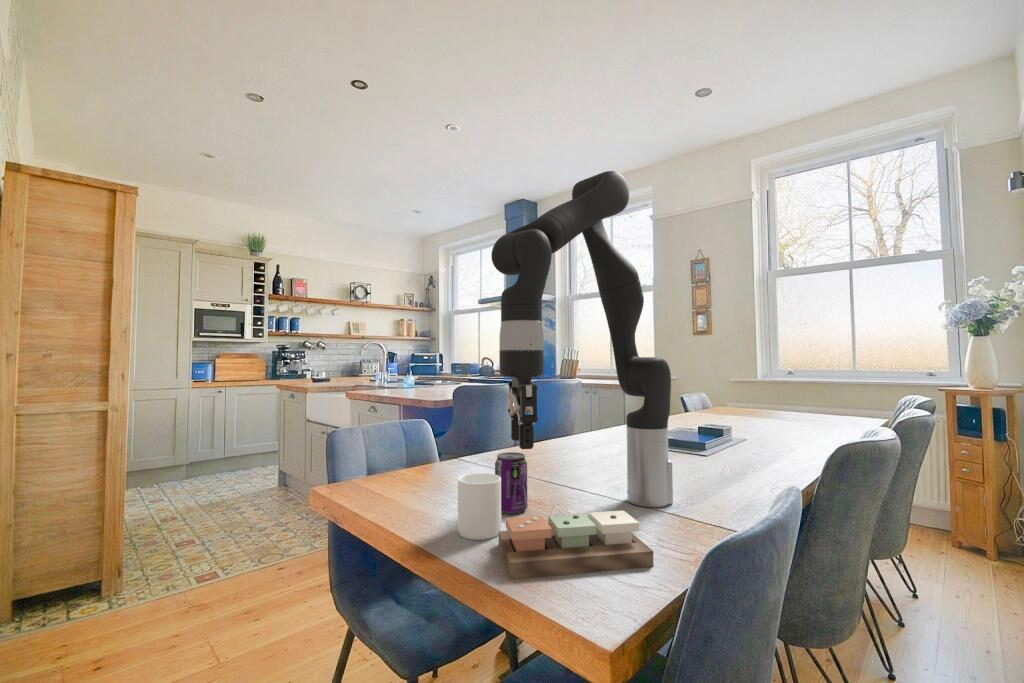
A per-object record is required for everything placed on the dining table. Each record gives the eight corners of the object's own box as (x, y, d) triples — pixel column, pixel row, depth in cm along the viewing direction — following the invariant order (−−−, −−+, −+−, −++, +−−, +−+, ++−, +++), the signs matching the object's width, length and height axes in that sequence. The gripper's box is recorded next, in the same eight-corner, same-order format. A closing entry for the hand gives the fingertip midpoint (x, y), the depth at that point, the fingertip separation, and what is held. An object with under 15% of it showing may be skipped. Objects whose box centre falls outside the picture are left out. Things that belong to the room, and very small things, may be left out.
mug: (459, 519, 97) (459, 469, 97) (499, 518, 97) (499, 468, 98) (456, 541, 85) (456, 484, 85) (502, 540, 85) (502, 483, 86)
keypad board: (620, 536, 87) (620, 522, 87) (653, 566, 74) (653, 551, 74) (498, 545, 83) (498, 531, 83) (510, 578, 70) (510, 562, 71)
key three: (542, 538, 81) (542, 514, 81) (551, 553, 75) (551, 527, 75) (505, 541, 80) (505, 516, 80) (512, 556, 74) (512, 530, 74)
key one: (623, 532, 84) (623, 509, 84) (639, 546, 78) (639, 521, 78) (589, 534, 83) (589, 511, 83) (602, 549, 76) (602, 524, 77)
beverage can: (524, 516, 98) (524, 459, 99) (491, 514, 100) (491, 457, 100) (530, 506, 105) (529, 452, 106) (499, 504, 107) (498, 451, 107)
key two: (583, 535, 83) (583, 511, 83) (596, 549, 76) (596, 524, 76) (548, 537, 81) (548, 514, 82) (558, 552, 75) (558, 527, 75)
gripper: (552, 347, 73) (553, 451, 73) (534, 349, 88) (534, 436, 87) (505, 347, 72) (505, 453, 72) (494, 349, 86) (494, 438, 86)
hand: (521, 444), depth 79 cm, fingers open, 8 cm apart
